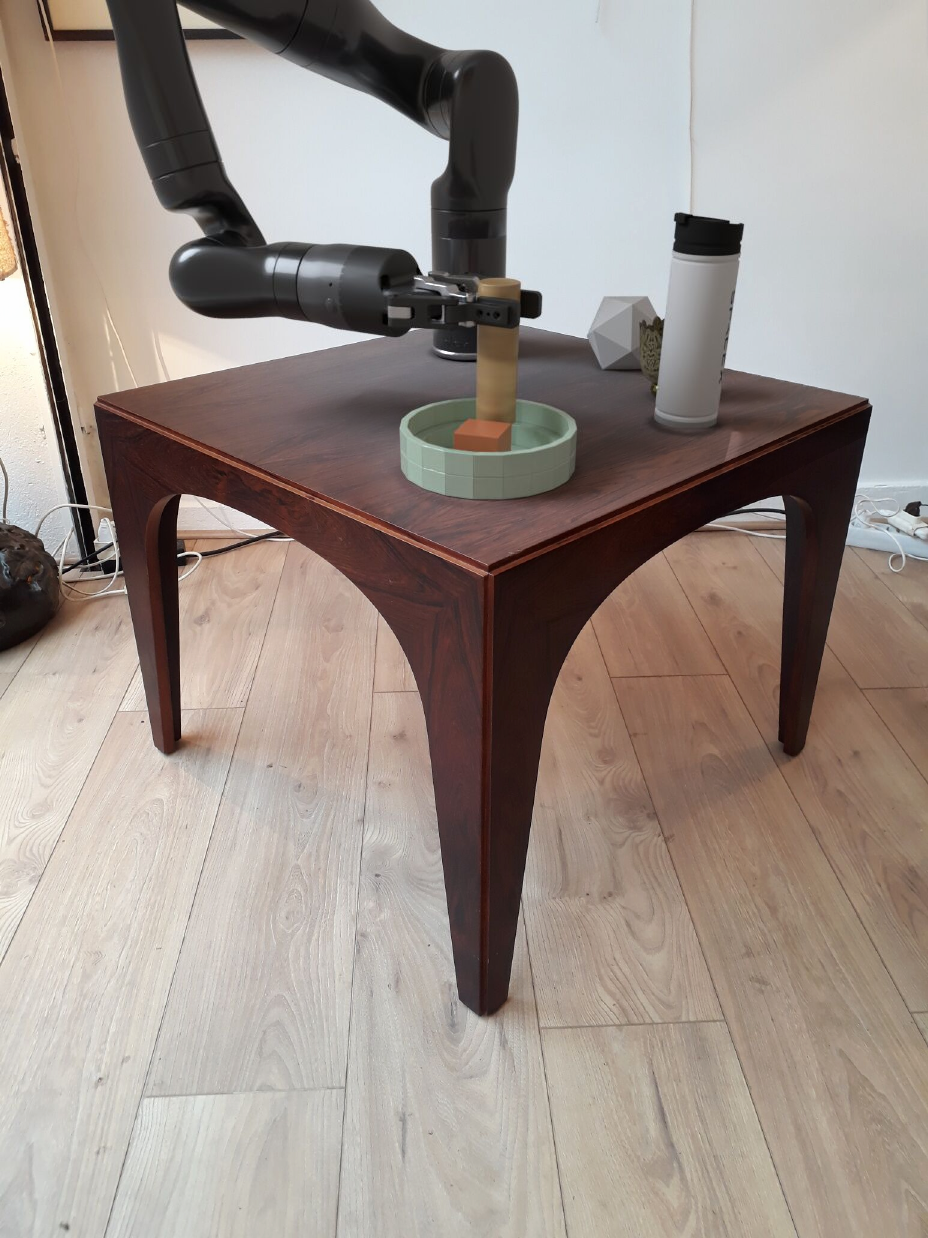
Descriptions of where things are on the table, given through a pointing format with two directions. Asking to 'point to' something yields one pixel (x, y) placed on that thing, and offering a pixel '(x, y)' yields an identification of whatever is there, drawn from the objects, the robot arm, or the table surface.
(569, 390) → the table surface
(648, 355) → the cup
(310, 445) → the table surface
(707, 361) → the travel mug
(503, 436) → the block
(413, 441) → the bowl
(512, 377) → the wooden cylinder
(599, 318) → the die
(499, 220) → the robot arm
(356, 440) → the table surface
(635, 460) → the table surface
